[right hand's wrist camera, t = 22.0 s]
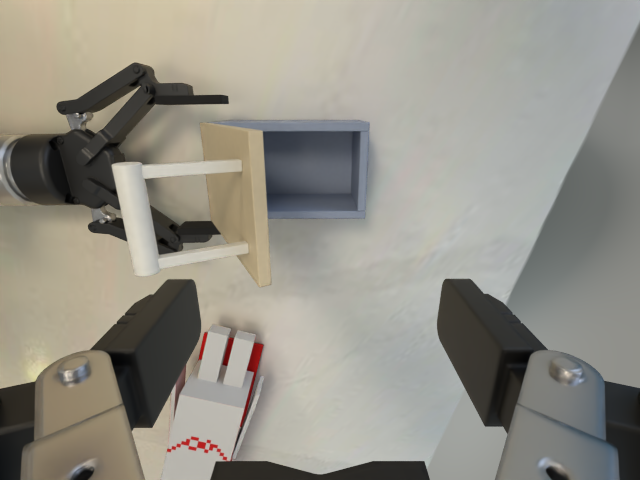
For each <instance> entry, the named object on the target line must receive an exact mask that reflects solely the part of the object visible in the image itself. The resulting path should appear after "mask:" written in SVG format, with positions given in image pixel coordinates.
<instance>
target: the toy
mask: <svg viewBox="0 0 640 480" xmlns="http://www.w3.org/2000/svg"><path fill="white" fill-rule="evenodd" d="M230 331H231V328H227V327H223V326H219V325H214V324H212V326H211V328H210V329H209V331H208V333H206V332H205V333H204V336H203V341H202V346H201V350H200V355H199V360H198V362H197V364H196V366H195V368H194V369H193V371H192V373H191V375H190V377H189V378H188V380H187V382H186V384H185V373H186V365H185V367H184V369H183V371H182V373H181V374H180V376H179V378H178V380H177V382H176V384H175V386H174V388H173V390H172V391H171V406H170V424H169V442H168V449H167V453H166V458H165V462H164V467H163V471H162V476H161V480H210V479H211V476H212V472H213V469H214V465H215V462H216V461H232V459H236V456H237V453H238V451H239V448H240V446H241V443H242V440H243V438H244V435H245V433H246V430H247V427H248V425H249V422H250V420H251V417H252V414H253V412H254V409H255V407H256V404H257V401H258V399H259V396H260V392H261V388H262V384H263V380H264V376H260V379H259V382H258V384H257V387H256V390H255V392H254V395H253V397H252V400H251V403H250V405H249V401H250V397H251V393H252V389H253V385H254V381H255V377H256V373H257V368H258V364H259V360H260V356H261V352H262V348H263V345H262V344H257V343H254V341H255V337H256V334H252V333H248V332H244V331H240V330H238V331H237V333H236V336H235V338H229V335H230ZM248 405H249V408H248ZM247 409H248V411H247ZM239 427H241V429H240V432H239V434H238V431H239ZM237 434H238V438H237ZM236 438H237V441H236ZM235 442H236V445H235ZM234 446H235V448H234ZM233 449H234V452H233Z"/></svg>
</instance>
